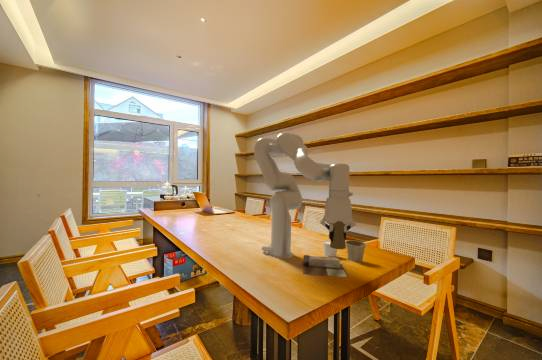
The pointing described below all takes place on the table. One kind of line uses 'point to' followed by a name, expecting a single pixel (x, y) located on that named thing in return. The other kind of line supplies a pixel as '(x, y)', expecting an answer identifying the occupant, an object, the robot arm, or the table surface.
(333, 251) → the shot glass
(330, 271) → the board
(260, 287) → the table surface
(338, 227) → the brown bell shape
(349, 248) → the flower pot
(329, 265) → the jaw
